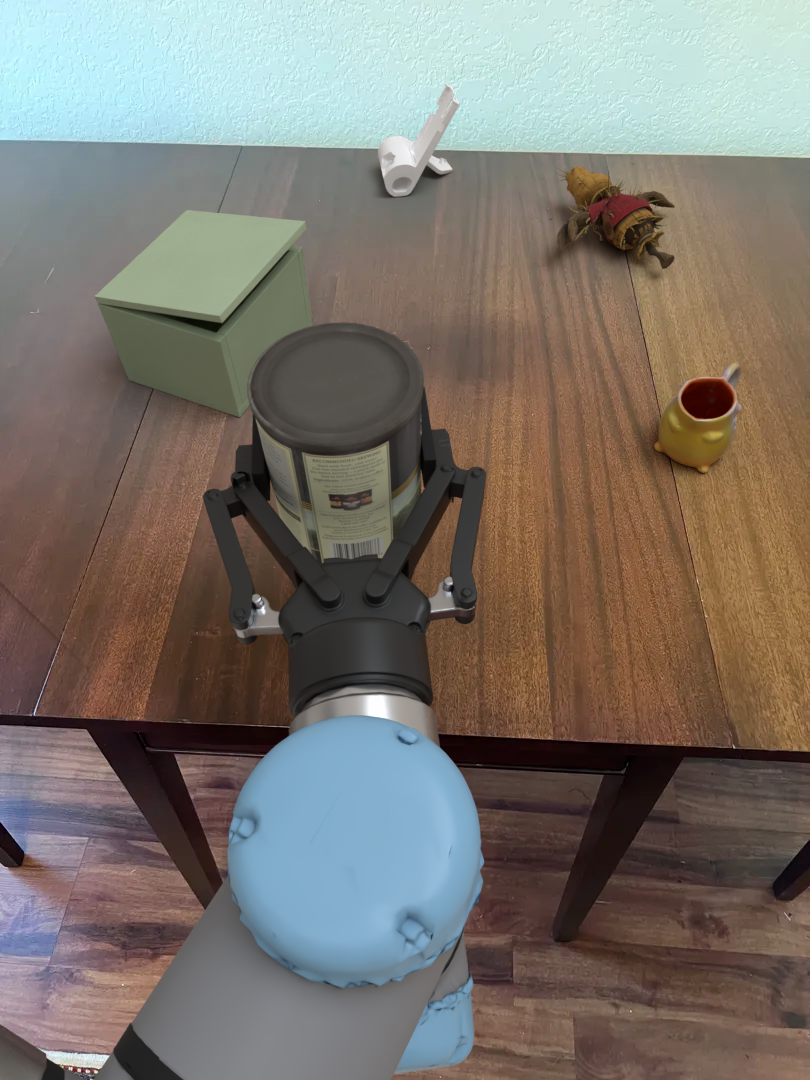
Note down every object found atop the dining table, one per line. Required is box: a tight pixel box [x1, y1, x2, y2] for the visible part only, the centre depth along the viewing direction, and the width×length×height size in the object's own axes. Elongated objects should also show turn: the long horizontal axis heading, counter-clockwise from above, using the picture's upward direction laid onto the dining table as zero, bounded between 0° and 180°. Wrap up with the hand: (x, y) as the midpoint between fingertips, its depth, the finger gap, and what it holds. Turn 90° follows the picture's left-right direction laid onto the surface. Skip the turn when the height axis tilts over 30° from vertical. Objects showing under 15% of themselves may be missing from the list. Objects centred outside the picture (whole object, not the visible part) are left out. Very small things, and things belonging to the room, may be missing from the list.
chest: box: [97, 244, 314, 418], centre depth 82 cm, size 14×16×10 cm
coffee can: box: [247, 321, 425, 564], centre depth 51 cm, size 10×10×14 cm
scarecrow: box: [546, 161, 676, 270], centre depth 95 cm, size 17×16×8 cm
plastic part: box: [377, 82, 460, 198], centre depth 102 cm, size 8×10×12 cm
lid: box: [94, 209, 308, 323], centre depth 77 cm, size 15×16×1 cm
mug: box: [653, 361, 743, 474], centre depth 76 cm, size 12×7×7 cm, turn 139°
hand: (340, 407), depth 53 cm, fingers closed on coffee can, 10 cm apart
